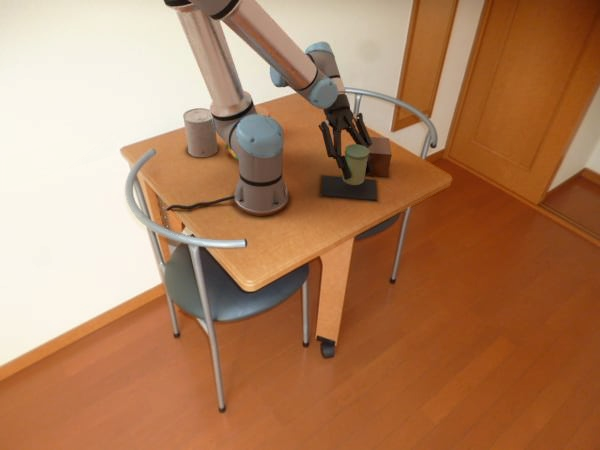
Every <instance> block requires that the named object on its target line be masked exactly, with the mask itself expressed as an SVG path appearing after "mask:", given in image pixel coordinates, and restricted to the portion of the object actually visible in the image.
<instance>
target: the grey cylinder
mask: <svg viewBox="0 0 600 450" xmlns="http://www.w3.org/2000/svg"><path fill="white" fill-rule="evenodd" d="M182 118H183V123H184V124H183V125H184V131H185V137H186V143H187V152H188V153H189V155H191V156H192V157H196V158H208V157H211V156H214V155H215V154H216V153H218V151H219V147H218V139H217V132H216V130H215V128H214V125H213V122H212V114H211V111H210V108H209V109H208V108H203V107H197V108H196V107H195V108H192V109H188V110H186V111H185V112H184V113H183V115H182Z"/></svg>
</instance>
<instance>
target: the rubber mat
mask: <svg viewBox="0 0 600 450" xmlns="http://www.w3.org/2000/svg"><path fill="white" fill-rule="evenodd" d="M321 197H326V198H338V199H339V198H340V199H351V200H361V201H375V202H376V201H378V197H377V187H376V179H369V178H365V179H364V182H363V183H361V184H359V185H350V184H347V183H346V182H344V181H343V179H342V176H335V175H322V184H321Z"/></svg>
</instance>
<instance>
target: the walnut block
mask: <svg viewBox="0 0 600 450" xmlns="http://www.w3.org/2000/svg"><path fill="white" fill-rule="evenodd" d="M370 139H371V141H372V145H371V146H370V147H369V148H368V149H369V155H370V160H369V162H370V165H371V168H372V172H369V173H367V174H366V173H365V176H376V177H388V173H389V169H390V164H391V161H392V155H393V154H392V148H391V141H390V138H389V137H379V136H378V137H377V136H370Z"/></svg>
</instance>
